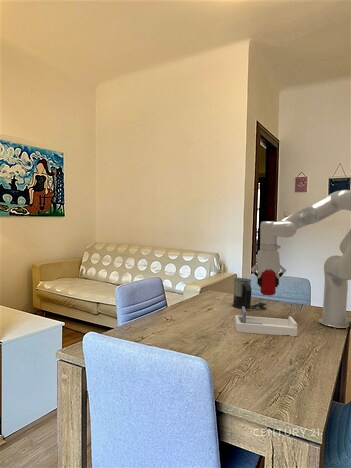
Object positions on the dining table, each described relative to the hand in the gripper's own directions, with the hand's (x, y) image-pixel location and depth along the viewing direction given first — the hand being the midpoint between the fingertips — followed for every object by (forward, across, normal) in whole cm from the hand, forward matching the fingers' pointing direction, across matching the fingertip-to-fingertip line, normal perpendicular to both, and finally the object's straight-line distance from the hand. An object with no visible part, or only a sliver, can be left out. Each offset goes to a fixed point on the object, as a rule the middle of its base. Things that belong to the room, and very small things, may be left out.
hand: (268, 286), depth 149 cm
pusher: (+14, +8, +14) cm, 21 cm away
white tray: (+16, +4, +14) cm, 21 cm away
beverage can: (+4, 0, 0) cm, 4 cm away
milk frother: (+16, +6, -21) cm, 27 cm away
